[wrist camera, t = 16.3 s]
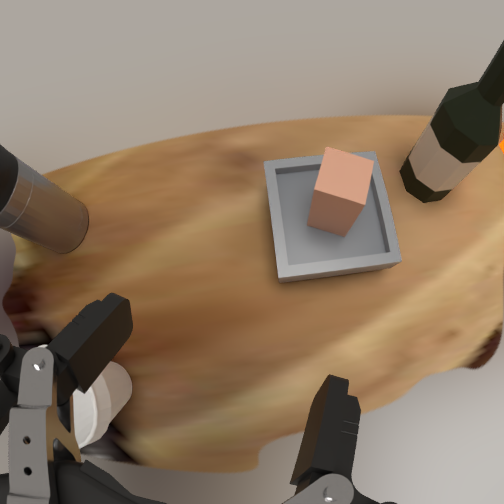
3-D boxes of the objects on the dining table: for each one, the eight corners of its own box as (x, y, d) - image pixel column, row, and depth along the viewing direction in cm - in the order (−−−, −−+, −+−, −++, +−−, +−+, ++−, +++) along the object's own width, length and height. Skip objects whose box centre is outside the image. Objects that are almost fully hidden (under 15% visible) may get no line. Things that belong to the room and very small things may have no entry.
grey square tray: (279, 285, 40) (278, 277, 33) (266, 185, 43) (263, 161, 37) (383, 271, 39) (401, 261, 32) (363, 175, 42) (374, 151, 36)
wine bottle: (389, 168, 42) (473, 6, 13) (423, 146, 43) (507, 3, 14) (423, 213, 40) (551, 80, 11) (455, 187, 41) (570, 65, 12)
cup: (165, 408, 38) (117, 437, 25) (102, 432, 37) (47, 458, 24) (125, 329, 41) (66, 326, 28) (68, 360, 41) (6, 364, 27)
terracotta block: (344, 237, 35) (365, 205, 26) (306, 225, 36) (314, 189, 26) (353, 201, 36) (374, 161, 26) (317, 190, 37) (326, 146, 27)
